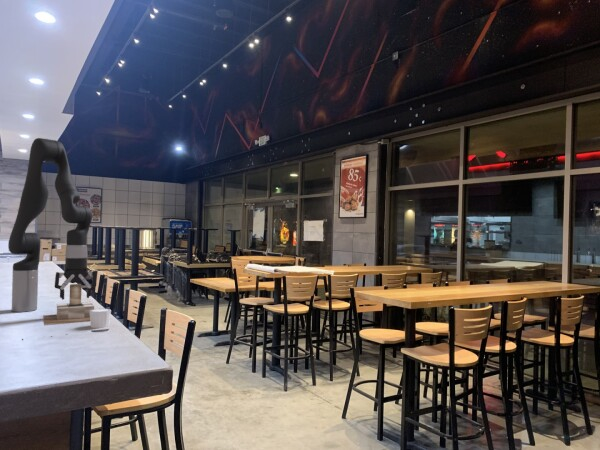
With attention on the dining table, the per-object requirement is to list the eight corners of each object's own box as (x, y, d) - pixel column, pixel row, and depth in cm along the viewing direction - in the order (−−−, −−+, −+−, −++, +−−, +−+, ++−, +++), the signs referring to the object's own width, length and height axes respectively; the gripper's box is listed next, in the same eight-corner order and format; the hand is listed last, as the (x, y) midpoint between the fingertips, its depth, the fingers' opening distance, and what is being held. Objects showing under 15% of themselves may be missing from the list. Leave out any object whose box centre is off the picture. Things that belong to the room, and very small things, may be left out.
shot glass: (114, 328, 152) (115, 308, 152) (103, 333, 145) (104, 312, 145) (96, 327, 152) (96, 308, 152) (84, 332, 146) (85, 311, 146)
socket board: (43, 319, 165) (43, 305, 165) (91, 315, 174) (92, 301, 174) (44, 329, 148) (44, 313, 148) (97, 324, 157) (98, 309, 157)
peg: (68, 315, 166) (69, 284, 167) (80, 314, 169) (81, 283, 169) (69, 317, 163) (70, 285, 163) (81, 316, 165) (82, 284, 165)
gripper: (95, 255, 173) (94, 296, 173) (55, 256, 166) (53, 298, 165) (97, 256, 167) (96, 298, 167) (55, 257, 159) (54, 301, 159)
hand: (75, 298), depth 166 cm, fingers open, 8 cm apart
